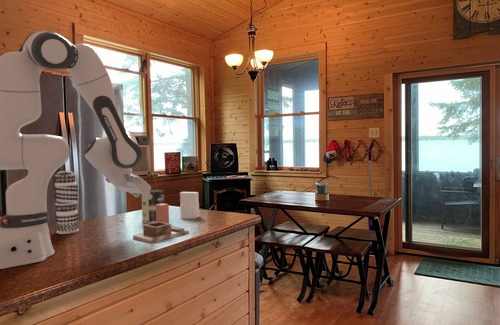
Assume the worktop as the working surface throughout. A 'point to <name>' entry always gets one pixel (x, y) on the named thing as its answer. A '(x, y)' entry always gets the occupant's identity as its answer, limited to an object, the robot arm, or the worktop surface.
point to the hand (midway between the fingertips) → (144, 197)
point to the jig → (159, 232)
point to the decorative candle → (66, 202)
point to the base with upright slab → (189, 205)
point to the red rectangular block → (162, 213)
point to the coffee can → (151, 205)
